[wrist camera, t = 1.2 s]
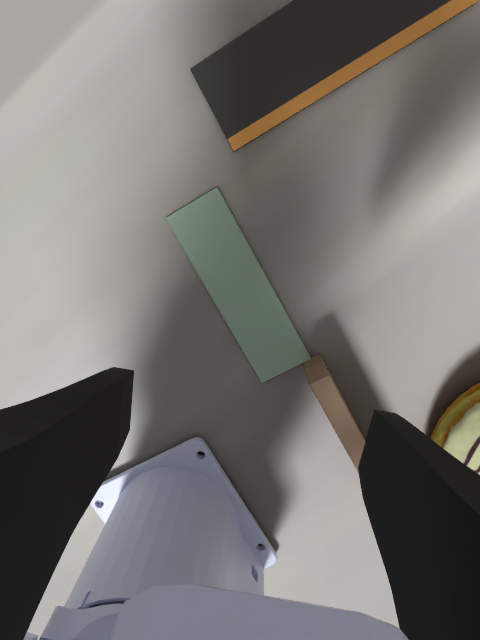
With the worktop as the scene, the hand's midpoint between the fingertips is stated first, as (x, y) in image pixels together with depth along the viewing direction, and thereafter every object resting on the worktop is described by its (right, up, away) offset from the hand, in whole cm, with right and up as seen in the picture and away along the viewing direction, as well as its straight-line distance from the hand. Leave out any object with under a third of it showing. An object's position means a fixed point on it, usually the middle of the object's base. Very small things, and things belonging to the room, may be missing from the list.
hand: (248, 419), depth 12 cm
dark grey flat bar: (+4, +15, +6) cm, 17 cm away
